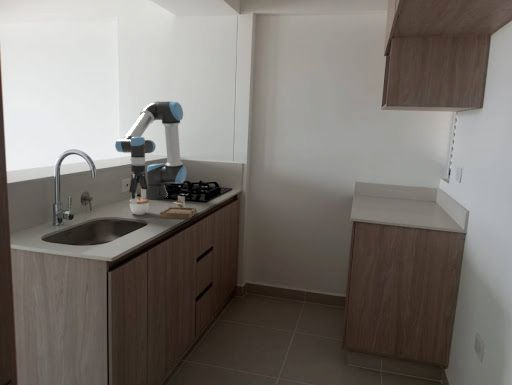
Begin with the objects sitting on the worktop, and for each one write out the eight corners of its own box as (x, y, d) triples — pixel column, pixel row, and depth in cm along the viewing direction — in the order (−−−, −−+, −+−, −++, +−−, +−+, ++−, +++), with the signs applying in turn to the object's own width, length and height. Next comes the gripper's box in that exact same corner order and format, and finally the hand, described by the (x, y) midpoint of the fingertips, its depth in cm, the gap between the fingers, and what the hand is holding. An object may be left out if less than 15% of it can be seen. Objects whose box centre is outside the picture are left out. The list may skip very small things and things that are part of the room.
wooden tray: (169, 211, 247) (169, 206, 247) (196, 212, 245) (196, 208, 245) (160, 217, 231) (160, 212, 231) (188, 219, 230) (188, 214, 229)
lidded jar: (132, 216, 234) (132, 199, 232) (127, 212, 243) (126, 196, 241) (151, 214, 239) (151, 198, 238) (145, 210, 248) (145, 195, 247)
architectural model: (180, 209, 255) (180, 197, 254) (172, 208, 259) (172, 196, 258) (185, 209, 258) (184, 197, 257) (176, 207, 262) (176, 195, 260)
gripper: (140, 162, 249) (141, 198, 252) (122, 166, 224) (123, 205, 228) (152, 163, 248) (153, 198, 251) (135, 166, 224) (136, 206, 227)
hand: (138, 202), depth 239 cm, fingers open, 13 cm apart
